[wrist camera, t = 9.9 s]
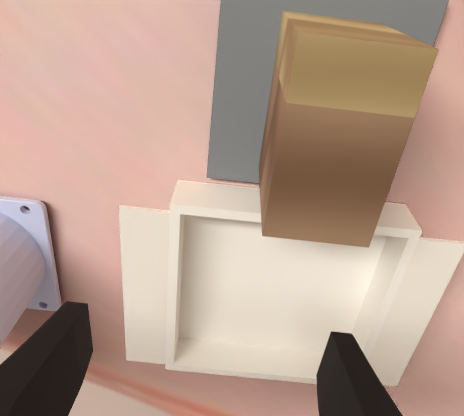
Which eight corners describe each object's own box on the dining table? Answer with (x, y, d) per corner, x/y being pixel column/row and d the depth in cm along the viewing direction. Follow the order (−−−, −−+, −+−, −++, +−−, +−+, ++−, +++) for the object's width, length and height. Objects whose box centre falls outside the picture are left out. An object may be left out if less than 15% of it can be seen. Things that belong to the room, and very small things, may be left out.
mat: (207, 174, 21) (206, 177, 21) (223, -28, 16) (223, -28, 16) (379, 192, 21) (381, 196, 21) (444, -1, 16) (449, 0, 16)
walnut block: (338, 175, 20) (369, 247, 15) (258, 166, 20) (262, 236, 15) (379, 22, 17) (438, 49, 11) (282, 10, 16) (298, 32, 11)
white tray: (136, 334, 27) (126, 365, 25) (131, 174, 21) (118, 198, 19) (382, 358, 28) (393, 391, 26) (449, 208, 21) (472, 236, 19)
